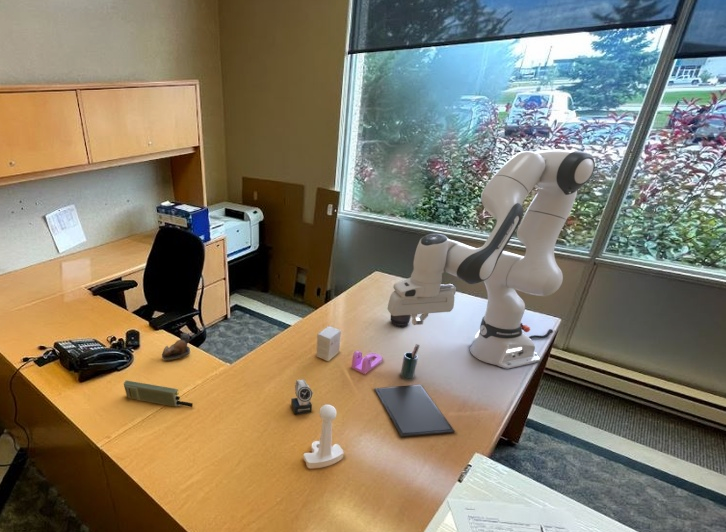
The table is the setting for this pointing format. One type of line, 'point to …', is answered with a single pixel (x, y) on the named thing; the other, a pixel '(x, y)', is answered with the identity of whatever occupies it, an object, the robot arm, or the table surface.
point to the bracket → (365, 361)
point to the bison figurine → (177, 348)
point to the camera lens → (400, 320)
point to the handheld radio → (153, 394)
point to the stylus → (415, 351)
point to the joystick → (324, 442)
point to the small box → (328, 343)
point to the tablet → (413, 411)
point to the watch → (302, 398)
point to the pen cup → (408, 366)
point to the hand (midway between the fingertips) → (417, 324)
